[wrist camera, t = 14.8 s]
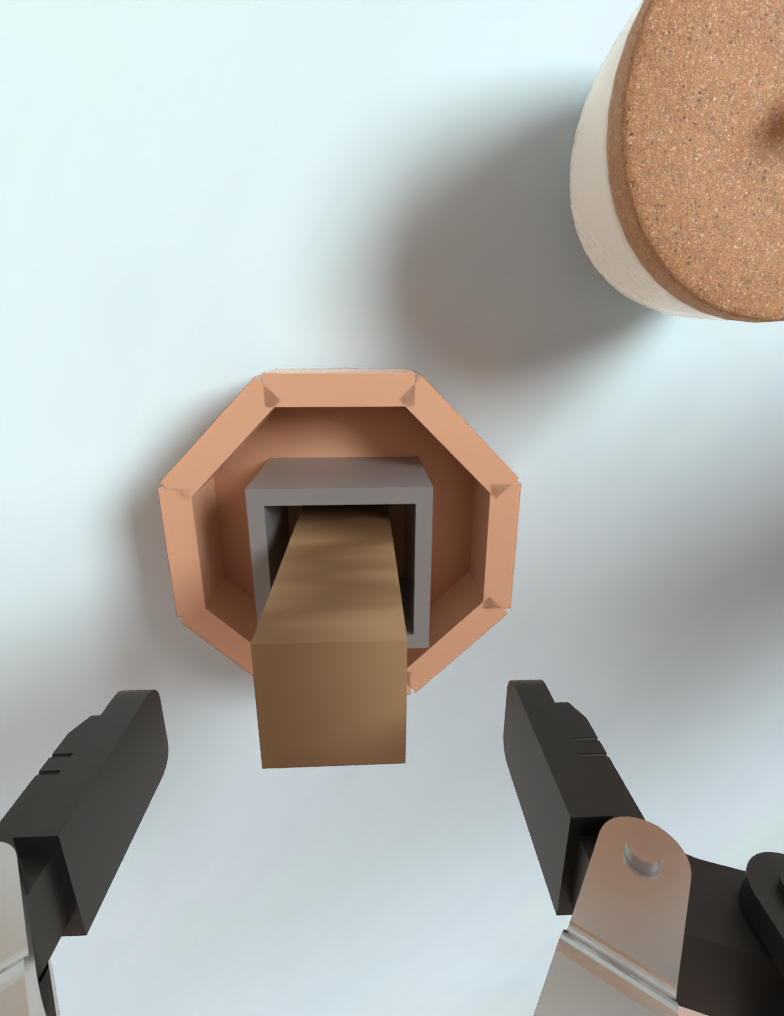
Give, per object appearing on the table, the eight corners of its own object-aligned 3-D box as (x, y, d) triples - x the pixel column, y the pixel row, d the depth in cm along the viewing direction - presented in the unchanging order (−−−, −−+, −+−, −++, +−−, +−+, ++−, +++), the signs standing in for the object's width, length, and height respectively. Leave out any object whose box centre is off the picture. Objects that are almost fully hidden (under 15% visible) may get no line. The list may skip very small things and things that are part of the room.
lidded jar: (655, 378, 23) (841, 401, 14) (475, 216, 20) (561, 118, 12) (843, 161, 20) (1210, 21, 12) (664, -52, 18) (957, -437, 9)
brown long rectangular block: (385, 491, 23) (407, 640, 11) (385, 562, 24) (405, 763, 12) (307, 492, 23) (250, 644, 11) (311, 563, 24) (262, 768, 12)
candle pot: (502, 367, 22) (549, 376, 17) (483, 641, 27) (516, 722, 21) (179, 367, 22) (114, 377, 16) (215, 649, 26) (173, 735, 20)
